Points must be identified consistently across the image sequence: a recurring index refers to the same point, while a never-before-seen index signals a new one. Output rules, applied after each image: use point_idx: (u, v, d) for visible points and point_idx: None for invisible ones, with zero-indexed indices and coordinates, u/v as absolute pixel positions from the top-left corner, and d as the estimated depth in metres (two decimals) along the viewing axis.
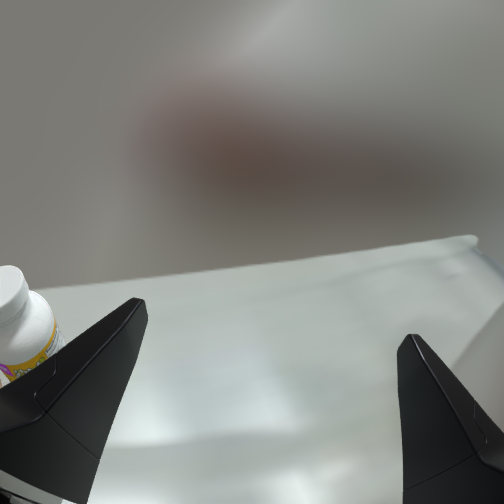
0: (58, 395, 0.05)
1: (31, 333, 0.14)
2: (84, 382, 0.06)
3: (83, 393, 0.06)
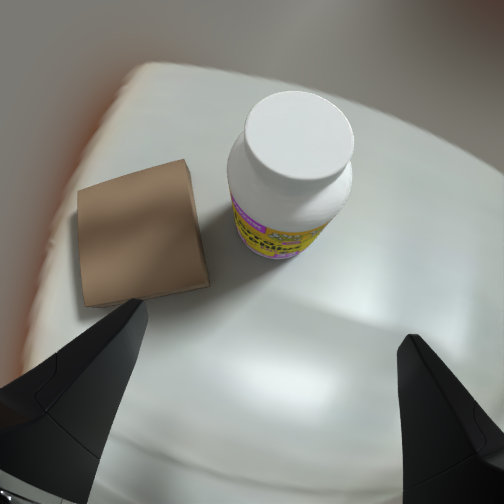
0: (58, 395, 0.05)
1: (331, 204, 0.14)
2: (84, 382, 0.06)
3: (83, 393, 0.06)
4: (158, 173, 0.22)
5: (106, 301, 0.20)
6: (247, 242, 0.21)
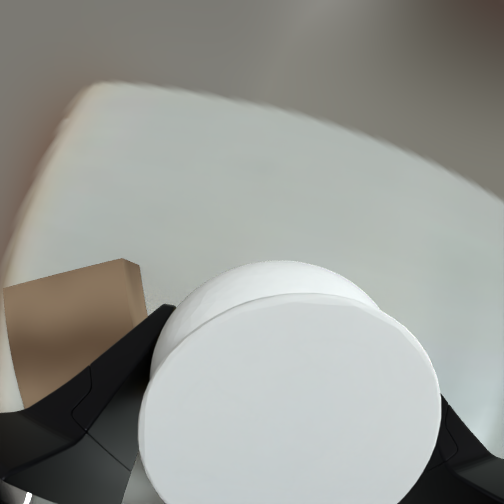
0: (97, 412, 0.05)
1: None
2: (122, 395, 0.06)
3: (121, 407, 0.06)
4: (89, 279, 0.14)
5: None
6: None
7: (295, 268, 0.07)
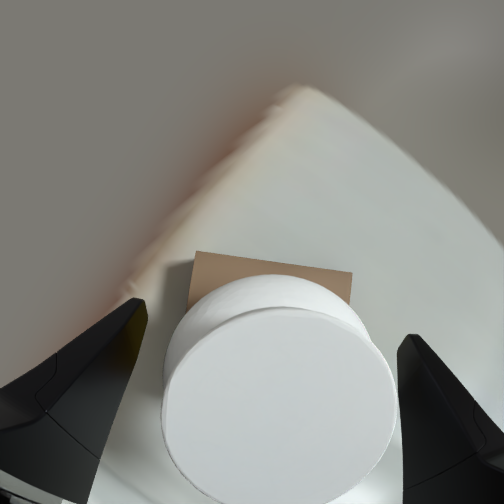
0: (58, 395, 0.05)
1: None
2: (84, 382, 0.06)
3: (83, 393, 0.06)
4: (318, 280, 0.18)
5: None
6: None
7: (285, 282, 0.08)
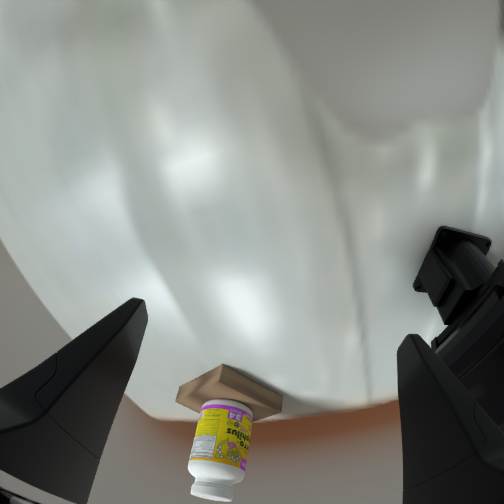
0: (58, 395, 0.05)
1: (210, 472, 0.24)
2: (84, 382, 0.06)
3: (83, 393, 0.06)
4: (191, 407, 0.35)
5: (268, 406, 0.33)
6: (250, 424, 0.32)
7: None
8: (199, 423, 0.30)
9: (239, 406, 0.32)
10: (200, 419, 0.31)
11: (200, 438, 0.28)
